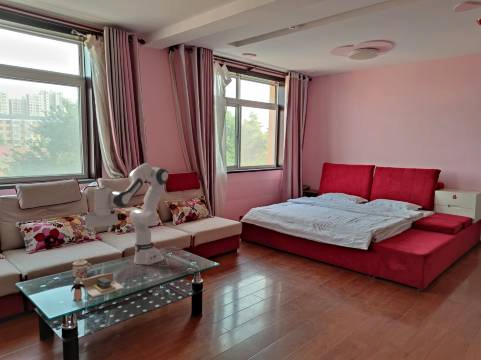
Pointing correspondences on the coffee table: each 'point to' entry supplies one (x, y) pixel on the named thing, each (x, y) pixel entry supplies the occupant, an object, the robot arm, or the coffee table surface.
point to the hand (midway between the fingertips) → (102, 233)
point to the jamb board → (95, 290)
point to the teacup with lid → (80, 268)
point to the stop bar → (103, 283)
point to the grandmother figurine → (77, 289)
